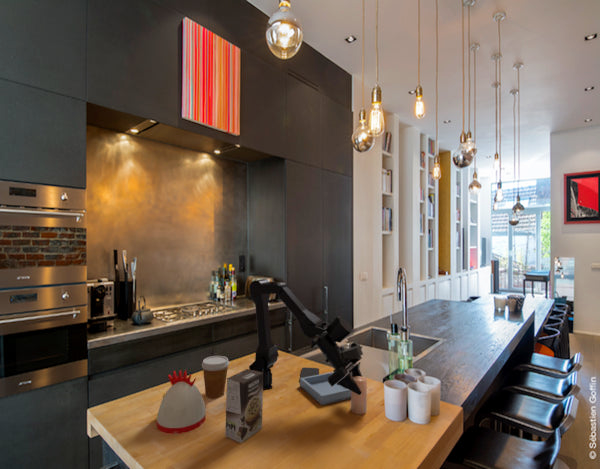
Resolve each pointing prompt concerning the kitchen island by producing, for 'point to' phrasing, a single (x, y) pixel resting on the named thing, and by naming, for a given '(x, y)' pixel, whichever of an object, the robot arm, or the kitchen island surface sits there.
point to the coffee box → (244, 405)
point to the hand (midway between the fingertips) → (363, 390)
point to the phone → (309, 372)
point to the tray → (324, 389)
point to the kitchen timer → (181, 406)
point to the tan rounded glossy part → (359, 396)
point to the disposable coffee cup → (215, 375)
